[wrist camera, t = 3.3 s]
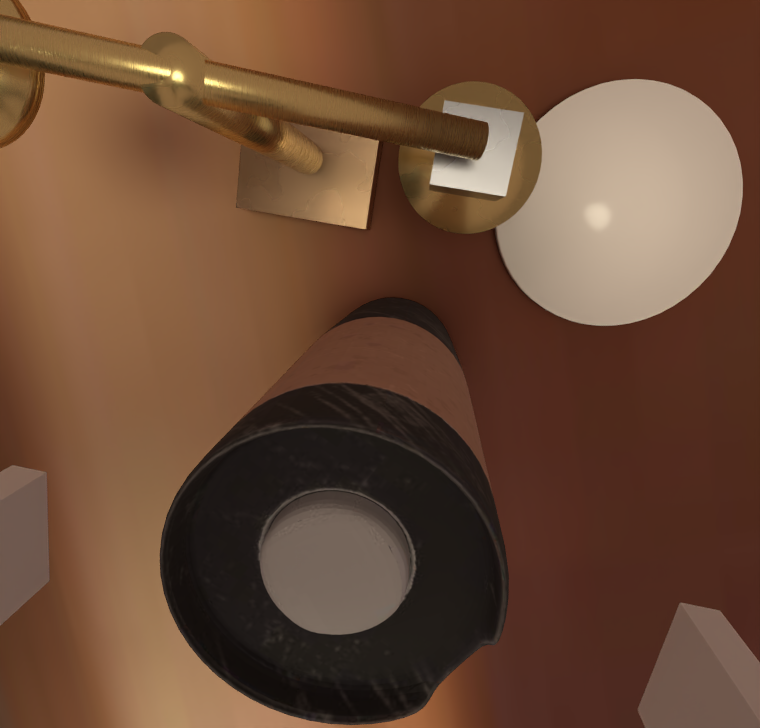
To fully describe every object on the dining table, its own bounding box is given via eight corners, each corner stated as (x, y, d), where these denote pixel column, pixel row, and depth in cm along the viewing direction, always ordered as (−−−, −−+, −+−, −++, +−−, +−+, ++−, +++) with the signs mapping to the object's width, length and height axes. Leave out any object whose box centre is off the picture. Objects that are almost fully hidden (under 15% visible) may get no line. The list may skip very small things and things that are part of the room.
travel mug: (321, 299, 29) (111, 430, 10) (452, 285, 28) (506, 399, 9) (338, 420, 31) (192, 732, 12) (461, 411, 30) (524, 732, 11)
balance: (136, 190, 28) (-326, 122, 11) (139, 74, 27) (-398, -221, 9) (487, 249, 27) (594, 278, 10) (513, 133, 26) (691, -73, 8)
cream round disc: (473, 302, 28) (475, 304, 27) (522, 69, 25) (527, 61, 24) (684, 338, 28) (696, 343, 26) (763, 105, 24) (780, 99, 23)
